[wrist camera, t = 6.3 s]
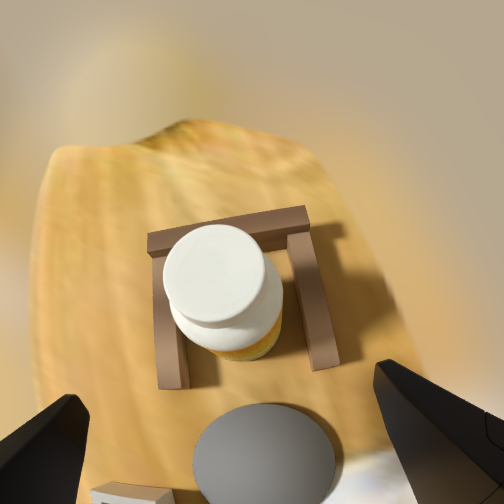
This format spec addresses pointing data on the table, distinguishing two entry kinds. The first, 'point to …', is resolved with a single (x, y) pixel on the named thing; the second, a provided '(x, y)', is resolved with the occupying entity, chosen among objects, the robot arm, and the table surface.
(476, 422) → the robot arm
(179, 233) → the housing rails
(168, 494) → the plunger block
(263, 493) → the rubber pad
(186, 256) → the supplement bottle
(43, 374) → the table surface
